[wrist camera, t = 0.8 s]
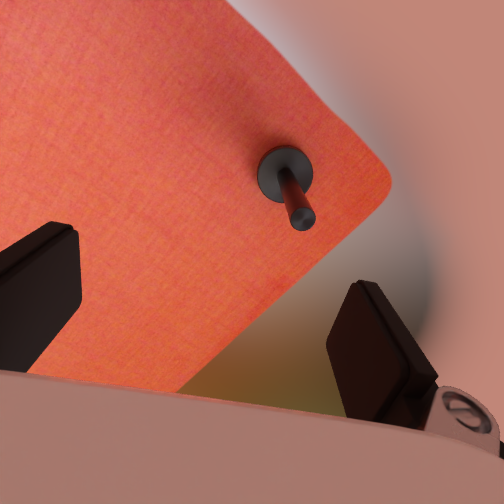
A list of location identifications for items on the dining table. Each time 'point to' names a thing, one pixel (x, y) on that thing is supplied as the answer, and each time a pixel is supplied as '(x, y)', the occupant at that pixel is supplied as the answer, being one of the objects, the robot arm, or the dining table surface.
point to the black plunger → (288, 183)
